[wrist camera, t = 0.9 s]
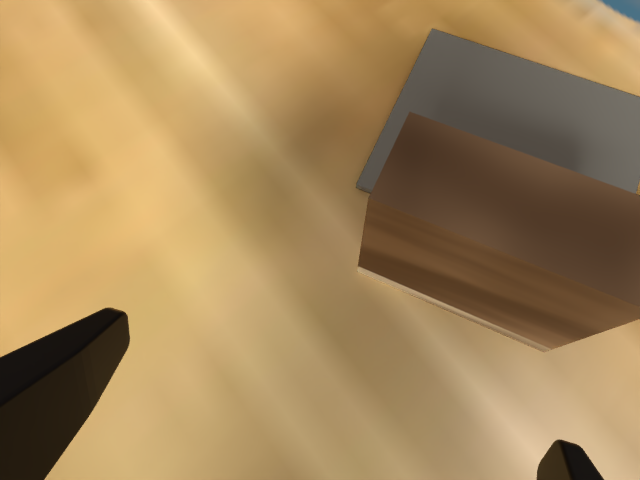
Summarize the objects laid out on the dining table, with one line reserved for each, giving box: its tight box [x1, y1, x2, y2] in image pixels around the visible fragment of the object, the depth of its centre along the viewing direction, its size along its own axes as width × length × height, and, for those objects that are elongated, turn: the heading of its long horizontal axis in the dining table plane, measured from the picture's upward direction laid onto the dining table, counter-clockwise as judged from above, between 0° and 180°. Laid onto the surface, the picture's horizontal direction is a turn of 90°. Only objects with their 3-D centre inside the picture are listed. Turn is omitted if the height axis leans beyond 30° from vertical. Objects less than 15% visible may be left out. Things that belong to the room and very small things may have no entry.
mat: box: [356, 29, 640, 194], centre depth 28 cm, size 12×14×1 cm
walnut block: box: [357, 111, 640, 352], centre depth 21 cm, size 4×10×9 cm, turn 65°
